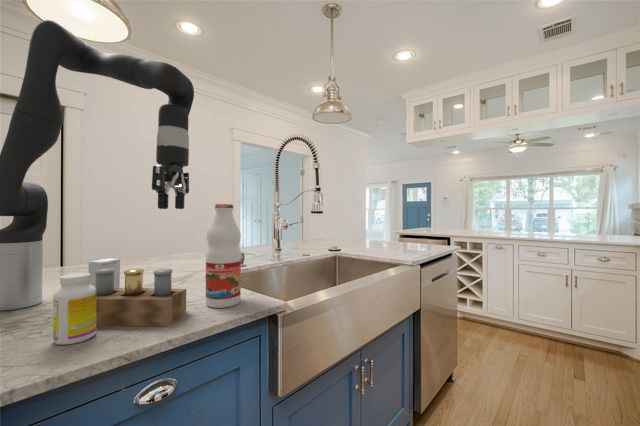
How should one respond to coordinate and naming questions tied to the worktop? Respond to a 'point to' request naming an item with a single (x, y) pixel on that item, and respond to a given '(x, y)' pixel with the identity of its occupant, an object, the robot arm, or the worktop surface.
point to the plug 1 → (104, 281)
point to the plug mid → (133, 282)
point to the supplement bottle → (74, 309)
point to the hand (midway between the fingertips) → (171, 208)
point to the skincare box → (102, 265)
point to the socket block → (140, 308)
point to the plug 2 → (162, 282)
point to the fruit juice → (223, 260)
